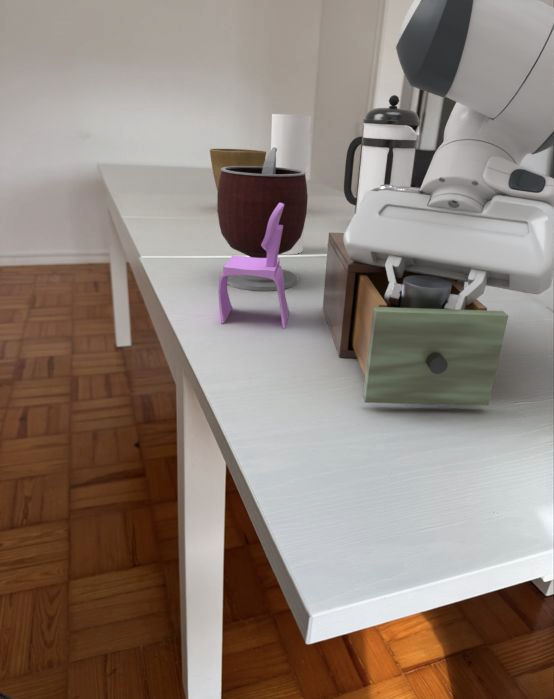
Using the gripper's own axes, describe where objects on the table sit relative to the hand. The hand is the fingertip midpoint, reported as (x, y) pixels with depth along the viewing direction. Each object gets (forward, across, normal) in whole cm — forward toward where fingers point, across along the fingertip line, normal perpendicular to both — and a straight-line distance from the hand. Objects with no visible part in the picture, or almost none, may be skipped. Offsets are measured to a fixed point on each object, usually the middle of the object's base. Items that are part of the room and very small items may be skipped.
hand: (421, 309), depth 52 cm
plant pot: (-48, -74, +61) cm, 107 cm away
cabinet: (-4, -8, +16) cm, 18 cm away
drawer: (+4, -1, +7) cm, 8 cm away
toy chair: (0, -24, +12) cm, 27 cm away
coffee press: (-49, -35, +62) cm, 87 cm away
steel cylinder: (+3, 0, +4) cm, 4 cm away
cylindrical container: (-26, -41, +38) cm, 61 cm away
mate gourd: (-11, -34, +24) cm, 43 cm away
